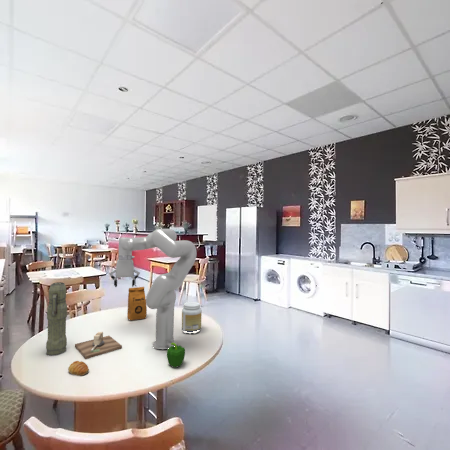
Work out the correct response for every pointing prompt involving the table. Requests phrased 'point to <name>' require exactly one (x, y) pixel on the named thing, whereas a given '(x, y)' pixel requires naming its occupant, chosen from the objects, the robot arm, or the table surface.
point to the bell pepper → (175, 355)
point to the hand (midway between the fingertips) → (124, 286)
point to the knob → (98, 340)
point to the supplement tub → (191, 317)
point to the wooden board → (106, 348)
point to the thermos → (56, 319)
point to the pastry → (78, 368)
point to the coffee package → (136, 304)
